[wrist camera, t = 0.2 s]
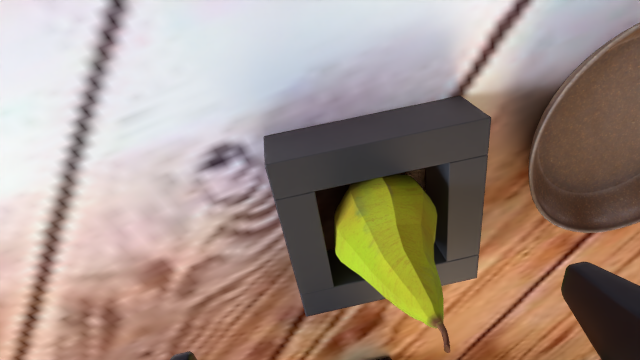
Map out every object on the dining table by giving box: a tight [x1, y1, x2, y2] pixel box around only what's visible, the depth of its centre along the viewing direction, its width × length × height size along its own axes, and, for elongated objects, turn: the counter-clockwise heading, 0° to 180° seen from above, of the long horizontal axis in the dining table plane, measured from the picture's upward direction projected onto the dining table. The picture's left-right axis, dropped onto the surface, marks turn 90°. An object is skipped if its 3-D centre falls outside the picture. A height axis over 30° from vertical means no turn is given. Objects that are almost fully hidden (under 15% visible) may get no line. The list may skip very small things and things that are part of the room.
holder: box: [264, 96, 491, 316], centre depth 24 cm, size 12×12×4 cm
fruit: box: [334, 174, 450, 353], centre depth 20 cm, size 6×6×12 cm
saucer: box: [529, 23, 640, 233], centre depth 24 cm, size 15×15×3 cm
